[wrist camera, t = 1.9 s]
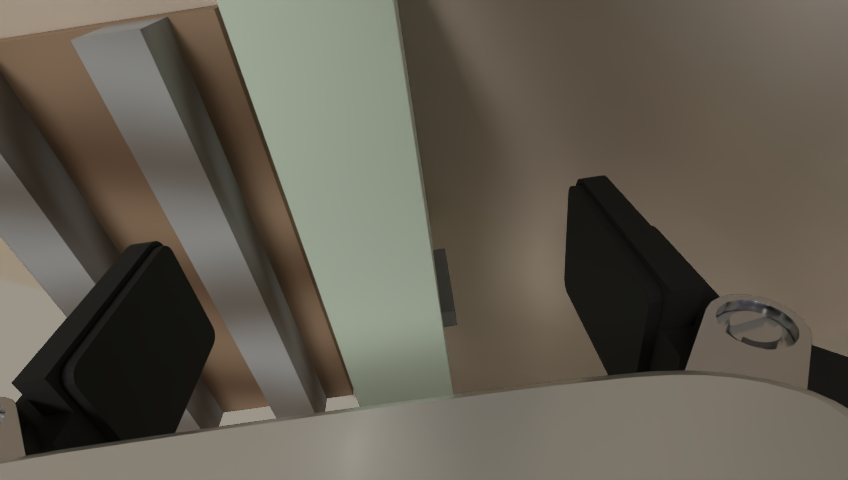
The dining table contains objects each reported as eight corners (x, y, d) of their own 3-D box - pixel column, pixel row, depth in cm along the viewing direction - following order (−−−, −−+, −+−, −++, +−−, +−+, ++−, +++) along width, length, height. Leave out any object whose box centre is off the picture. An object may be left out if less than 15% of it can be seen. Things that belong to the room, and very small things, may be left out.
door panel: (302, -85, 14) (187, -81, 6) (395, -100, 14) (406, -116, 6) (376, 232, 21) (369, 432, 13) (438, 223, 21) (470, 418, 13)
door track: (-96, 53, 16) (-186, 80, 13) (223, 4, 15) (192, 21, 13) (170, 405, 27) (148, 453, 25) (353, 380, 27) (350, 426, 24)
